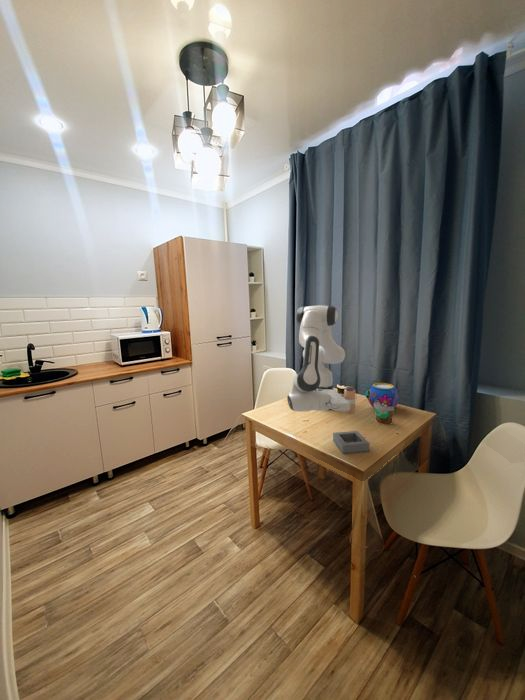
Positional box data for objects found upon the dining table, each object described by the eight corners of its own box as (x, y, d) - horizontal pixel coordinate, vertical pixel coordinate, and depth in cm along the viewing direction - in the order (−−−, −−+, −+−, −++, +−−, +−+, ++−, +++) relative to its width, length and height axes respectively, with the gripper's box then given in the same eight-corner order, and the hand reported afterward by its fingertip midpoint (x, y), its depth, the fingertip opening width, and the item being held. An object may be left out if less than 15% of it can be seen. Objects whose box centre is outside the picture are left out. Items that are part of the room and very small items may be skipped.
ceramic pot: (372, 401, 179) (372, 379, 177) (401, 407, 168) (403, 384, 166) (362, 410, 166) (363, 386, 163) (394, 417, 155) (395, 391, 152)
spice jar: (342, 410, 131) (342, 386, 130) (352, 410, 132) (352, 385, 130) (346, 414, 127) (346, 389, 125) (356, 414, 127) (357, 388, 125)
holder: (333, 440, 131) (333, 432, 131) (356, 438, 133) (357, 430, 132) (342, 453, 120) (343, 445, 119) (369, 451, 121) (369, 443, 120)
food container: (368, 418, 155) (368, 401, 153) (377, 416, 157) (377, 399, 155) (384, 426, 144) (385, 408, 142) (393, 424, 146) (394, 406, 144)
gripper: (330, 401, 116) (361, 399, 118) (316, 387, 136) (343, 386, 138) (330, 415, 117) (361, 413, 119) (316, 399, 137) (342, 398, 139)
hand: (351, 398), depth 128 cm, fingers closed on spice jar, 5 cm apart
